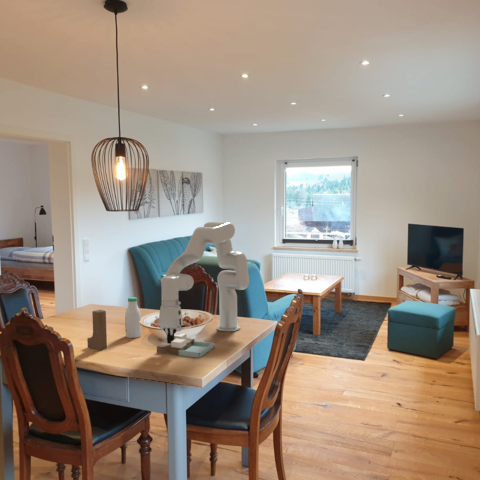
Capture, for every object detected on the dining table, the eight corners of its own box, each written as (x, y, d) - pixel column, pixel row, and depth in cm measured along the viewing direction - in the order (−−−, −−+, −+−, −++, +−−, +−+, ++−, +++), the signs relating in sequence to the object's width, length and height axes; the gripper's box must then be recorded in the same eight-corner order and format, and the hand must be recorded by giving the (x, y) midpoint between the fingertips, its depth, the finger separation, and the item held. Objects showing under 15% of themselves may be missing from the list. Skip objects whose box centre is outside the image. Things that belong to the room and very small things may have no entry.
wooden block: (87, 347, 216) (86, 309, 215) (95, 345, 220) (94, 308, 218) (99, 350, 211) (98, 312, 209) (107, 348, 214) (106, 310, 213)
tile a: (177, 337, 220) (177, 332, 220) (186, 338, 218) (186, 333, 218) (172, 340, 216) (171, 335, 215) (181, 341, 214) (181, 336, 213)
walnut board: (174, 342, 223) (174, 336, 222) (194, 345, 219) (194, 338, 218) (156, 352, 208) (156, 346, 208) (178, 355, 204) (177, 348, 204)
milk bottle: (144, 335, 235) (143, 297, 234) (133, 339, 228) (132, 299, 227) (133, 333, 239) (132, 295, 237) (122, 337, 232) (121, 298, 231)
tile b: (176, 343, 211) (176, 338, 211) (186, 345, 209) (186, 339, 209) (171, 346, 206) (171, 341, 206) (180, 348, 204) (180, 342, 204)
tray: (194, 345, 218) (194, 340, 218) (214, 347, 214) (214, 343, 214) (178, 355, 204) (178, 350, 204) (199, 357, 200) (199, 353, 200)
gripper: (188, 302, 209) (189, 342, 210) (160, 300, 214) (161, 338, 216) (180, 306, 202) (180, 346, 203) (151, 303, 207) (152, 343, 209)
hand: (170, 342), depth 209 cm, fingers closed
